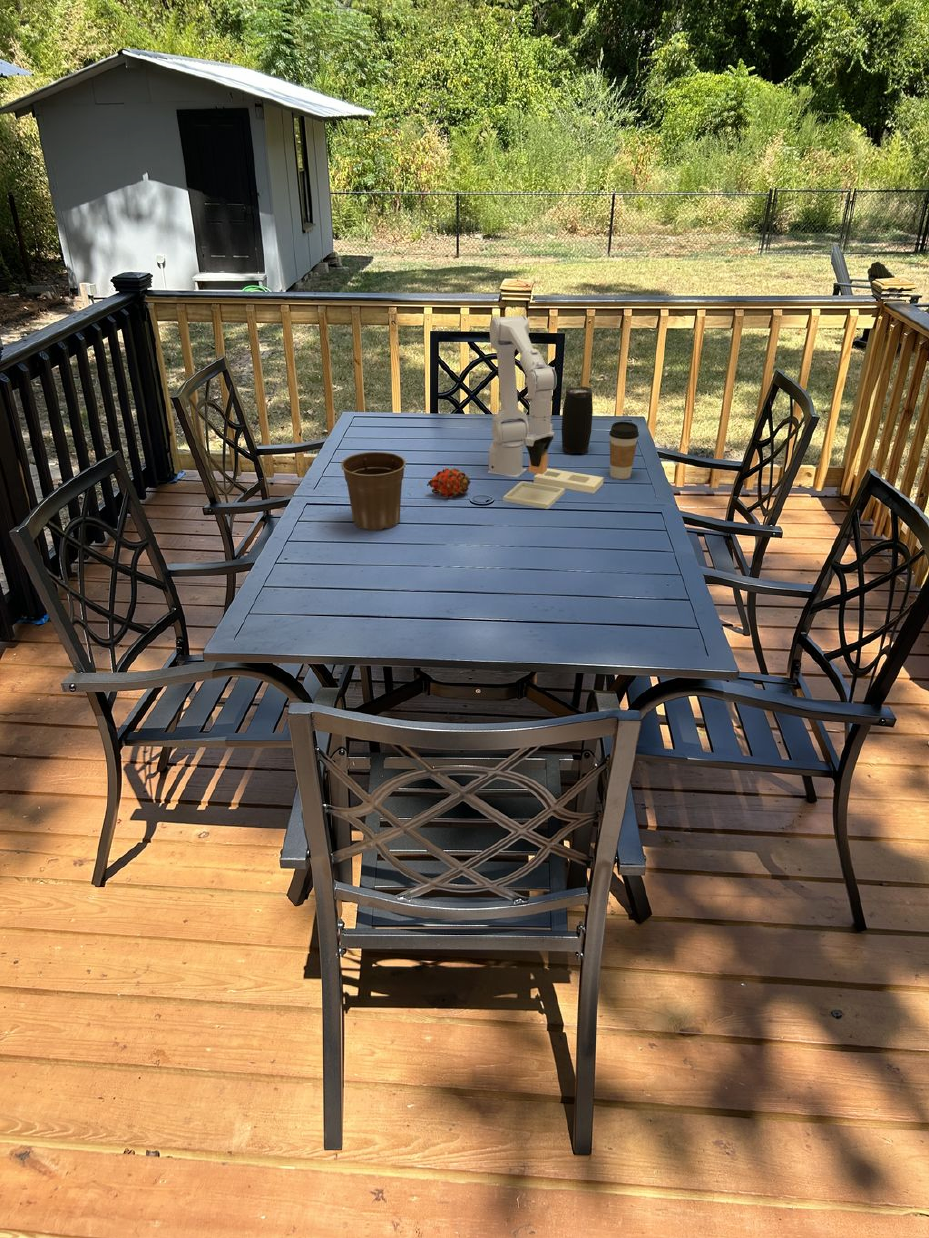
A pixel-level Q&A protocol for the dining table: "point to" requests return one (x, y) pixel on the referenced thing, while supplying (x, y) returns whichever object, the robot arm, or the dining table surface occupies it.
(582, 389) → the portable speaker
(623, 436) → the coffee cup
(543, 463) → the plug
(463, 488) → the red lumpy ovoid
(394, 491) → the plant pot
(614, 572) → the dining table surface
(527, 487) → the tray
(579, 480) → the power strip
